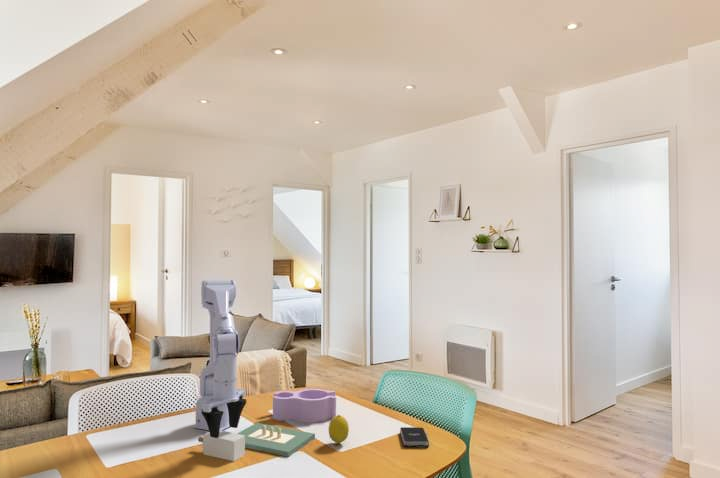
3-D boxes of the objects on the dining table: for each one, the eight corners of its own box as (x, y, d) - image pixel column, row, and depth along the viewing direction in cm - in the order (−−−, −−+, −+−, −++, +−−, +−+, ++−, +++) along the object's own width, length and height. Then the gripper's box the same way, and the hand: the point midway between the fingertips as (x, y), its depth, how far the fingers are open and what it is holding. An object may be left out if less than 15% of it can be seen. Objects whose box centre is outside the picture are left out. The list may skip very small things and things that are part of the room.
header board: (226, 443, 135) (226, 430, 135) (256, 426, 148) (256, 414, 148) (288, 456, 127) (288, 442, 127) (314, 437, 140) (315, 424, 140)
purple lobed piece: (271, 423, 152) (271, 401, 152) (274, 410, 164) (274, 389, 164) (336, 422, 153) (336, 399, 154) (334, 409, 166) (334, 388, 166)
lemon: (346, 449, 133) (346, 419, 133) (326, 447, 134) (326, 417, 134) (350, 441, 138) (350, 412, 138) (331, 439, 139) (331, 410, 139)
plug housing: (193, 452, 129) (194, 433, 130) (205, 446, 133) (205, 427, 134) (234, 461, 124) (234, 441, 124) (244, 454, 128) (245, 435, 128)
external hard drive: (403, 449, 134) (403, 441, 134) (399, 433, 145) (399, 427, 145) (429, 449, 134) (429, 441, 134) (423, 434, 145) (423, 427, 145)
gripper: (218, 388, 120) (218, 444, 120) (254, 374, 134) (253, 425, 133) (196, 385, 123) (195, 439, 123) (233, 372, 136) (232, 421, 136)
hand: (224, 431), depth 128 cm, fingers open, 7 cm apart
